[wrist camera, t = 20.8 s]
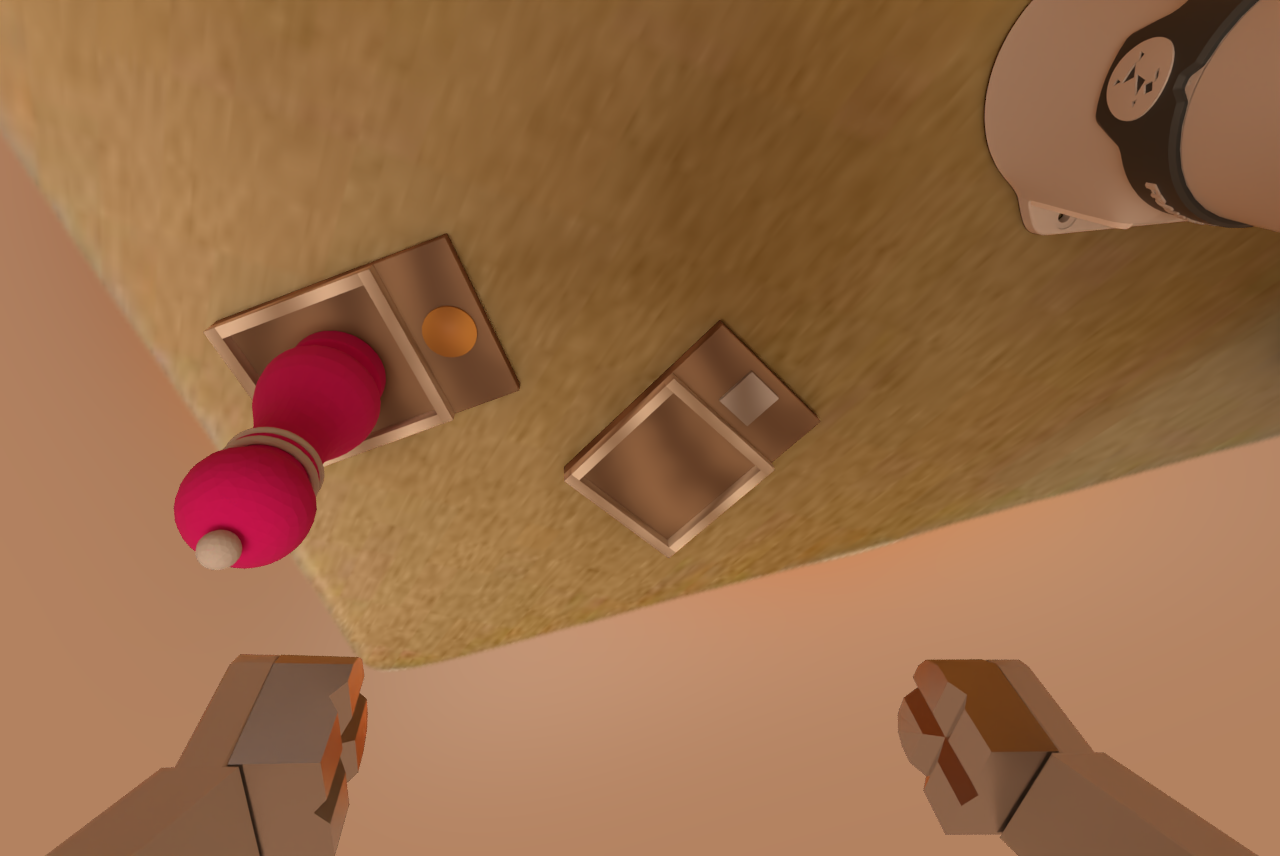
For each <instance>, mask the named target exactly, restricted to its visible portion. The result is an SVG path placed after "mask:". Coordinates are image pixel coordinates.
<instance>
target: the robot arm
mask: <svg viewBox="0 0 1280 856" xmlns="http://www.w3.org/2000/svg"><path fill="white" fill-rule="evenodd" d="M985 130H986V137H987V142H988V146H989V150H990V153H991V156H992V158H993V160H994V162H995V164H996V166H997V168H998V170H999V171H1000V172H1001V174H1002V175H1003V176H1004V178H1005V179H1006V180H1007V181H1008V183H1009V184H1010V185H1011V186H1012V188H1013V189H1014V191H1015V192H1016V194H1017V196H1018V200H1019V206H1020V212H1021V216H1022V220H1023V223H1024V225H1025V227H1026V229H1027V230H1028V231H1029V232H1031V233H1035V234H1040V235H1053V234H1063V233H1073V232H1083V231H1093V230H1103V229H1113V228H1118V229H1128V228H1130V227H1133V226H1143V225H1153V224H1163V223H1173V222H1183V221H1189V222H1193V223H1197V224H1201V225H1204V224H1207V225H1211V226H1221V227H1227V228H1246V227H1253V226H1256V227H1260V228H1264V229H1268V230H1272V231H1276V232H1280V0H1033V1H1032V2H1031V3H1030V4H1029V5H1028V6H1027V8H1026V9H1025V10H1024V12H1023V13H1022V14H1021V16H1020V17H1019V18H1018V20H1017V21H1016V23H1015V24H1014V26H1013V27H1012V29H1011V31H1010V32H1009V34H1008V36H1007V38H1006V40H1005V41H1004V43H1003V46H1002V48H1001V50H1000V52H999V54H998V57H997V59H996V62H995V64H994V67H993V70H992V74H991V77H990V81H989V85H988V90H987V95H986V103H985ZM1060 213H1061V214H1063V216H1062V217H1061V218H1060V219H1059V220H1058V216H1059V214H1060ZM913 678H914V681H915V683H916V685H917V688H916V689H915V690H913V691H912V692H911V693H909V694H908V695H907V696H906V697H904V699H903V701H902V704H901V707H900V709H899V712H898V733H899V736H900V740H901V744H902V747H903V749H904V751H905V754H906V756H907V758H908V760H909V762H910V763H911V764H912V765H914V766H915V767H916V768H917V769H919V770H920V771H921V772H922V773H923V774H924V775H926V779H925V785H924V793H925V795H926V796H927V799H928V801H929V802H930V804H931V806H932V808H933V811H934V813H935V815H936V817H937V818H938V820H939V822H940V825H941V826H942V829H943V830H944V833H945V834H946V835H949V834H950V835H951V834H952V835H962V834H963V835H965V834H967V835H968V834H969V835H970V834H1002V835H1001V836H1000V838H1001V839H1002V840H1003V841H1004V842H1005V843H1006V844H1007V845H1008V846H1009V847H1010V848H1011V849H1012V850H1013V851H1014V852H1015V853H1016V854H1017V855H1018V856H1258V855H1256V854H1255V853H1253V852H1252V851H1250V850H1249V849H1247V848H1246V847H1244V846H1243V845H1241V844H1240V843H1238V842H1237V841H1235V840H1234V839H1232V838H1231V837H1229V836H1228V835H1226V834H1225V833H1223V832H1222V831H1220V830H1219V829H1217V828H1216V827H1215V826H1213V825H1212V824H1210V823H1208V822H1207V821H1205V820H1204V819H1202V818H1201V817H1200V816H1198V815H1196V814H1195V813H1194V812H1192V811H1191V810H1189V809H1187V808H1186V807H1184V806H1183V805H1181V804H1180V803H1179V802H1177V801H1176V800H1174V799H1172V798H1171V797H1170V796H1168V795H1167V794H1165V793H1164V792H1162V791H1161V790H1159V789H1158V788H1156V787H1155V786H1153V785H1151V784H1150V783H1149V782H1147V781H1146V780H1144V779H1143V778H1141V777H1140V776H1138V775H1137V774H1135V773H1134V772H1132V771H1131V770H1129V769H1128V768H1126V767H1125V766H1123V765H1122V764H1120V763H1119V762H1117V761H1116V760H1114V759H1113V758H1111V757H1110V756H1108V755H1107V754H1105V753H1098V752H1094V751H1093V750H1092V748H1091V747H1090V746H1089V745H1088V743H1087V742H1086V741H1085V740H1084V738H1083V737H1082V735H1081V734H1080V733H1079V732H1078V730H1077V729H1076V728H1075V726H1074V725H1073V724H1072V722H1071V721H1070V720H1069V719H1068V717H1067V716H1066V715H1065V713H1064V712H1063V711H1062V709H1061V708H1060V707H1059V705H1058V704H1057V703H1056V702H1055V700H1054V699H1053V698H1052V696H1051V695H1050V694H1049V692H1048V691H1047V690H1046V688H1045V687H1044V686H1043V685H1042V683H1041V682H1040V681H1039V679H1038V678H1037V677H1036V676H1035V674H1034V673H1033V672H1032V671H1031V669H1030V668H1029V667H1028V666H1027V665H1026V664H1024V663H1023V662H1021V661H1020V660H982V659H976V660H975V659H973V660H972V659H970V660H925V661H924V662H922V663H921V664H920V665H918V668H917V669H916V672H915V674H914V676H913ZM363 679H364V669H363V662H362V659H361V658H359V657H336V656H304V655H250V654H240V655H239V656H238V657H237V658H236V659H235V660H234V661H233V662H232V663H231V664H230V665H229V667H228V669H227V671H226V672H225V674H224V676H223V678H222V680H221V682H220V684H219V686H218V687H217V689H216V691H215V693H214V695H213V697H212V699H211V701H210V703H209V704H208V706H207V708H206V710H205V712H204V714H203V716H202V718H201V719H200V722H199V723H198V725H197V727H196V729H195V731H194V732H193V734H192V736H191V738H190V740H189V742H188V744H187V746H186V747H185V749H184V751H183V753H182V755H181V757H180V759H179V761H178V762H177V764H176V766H175V767H171V768H161V769H159V770H158V771H157V772H156V773H154V774H153V775H151V776H150V777H149V778H148V779H146V780H145V781H143V782H142V783H141V784H140V785H138V786H137V787H136V788H134V789H133V790H132V791H130V792H129V793H128V794H126V795H125V796H124V797H122V798H121V799H120V800H118V801H117V802H116V803H114V804H113V805H112V806H110V807H109V808H108V809H107V810H105V811H104V812H102V813H101V814H100V815H98V816H97V817H96V818H94V819H93V820H92V821H91V822H89V823H88V824H87V825H85V826H84V827H83V828H81V829H80V830H79V831H77V832H76V833H75V834H73V835H72V836H71V837H69V838H68V839H67V840H66V841H64V842H63V843H61V844H60V845H59V846H57V847H56V848H55V849H53V850H52V851H51V852H49V853H48V854H47V855H45V856H335V853H336V850H337V846H338V843H339V839H340V836H341V832H342V829H343V825H344V822H345V818H346V814H347V811H348V807H349V798H348V790H347V782H348V781H349V780H350V779H351V778H353V777H354V776H355V775H356V774H357V773H358V771H359V767H360V763H361V759H362V755H363V751H364V745H365V739H366V732H367V717H368V716H367V715H368V712H367V699H366V698H365V697H364V696H363V695H361V694H360V689H361V686H362V683H363Z"/></svg>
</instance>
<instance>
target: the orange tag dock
mask: <svg viewBox="0 0 1280 856" xmlns="http://www.w3.org/2000/svg"><path fill="white" fill-rule="evenodd" d="M321 331H340V332H345V333H348V334H351V335H354V336H356V337H358V338H359V339H361V340H363V341H364V342H365V343H367V344H368V345H369V346H370V347H371V348H372V349H373V350H374V351H375V352H376V353H377V355H378V356H379V358H380V359H381V361H382V363H383V366H384V369H385V374H386V384H385V388H384V391H383V394H382V396H381V398H380V400H381V405H380V414H379V418H378V420H377V423H376V425H375V426H374V428H373V430H372V431H371V432H370V434H369V435H368V437H367V438H366V439H365V440H364V441H363V442H362V443H361V444H360V445H358V446H357V447H356V448H354V449H353V450H351V451H350V452H348V453H346V454H344V455H342V456H340V457H338V458H335V459H332V460H329V461H326V462H324V464H323V467H324V466H327V465H329V464H332V463H335V462H338V461H341V460H343V459H346V458H349V457H352V456H354V455H357V454H360V453H363V452H366V451H368V450H371V449H374V448H377V447H379V446H382V445H385V444H388V443H391V442H393V441H396V440H399V439H402V438H405V437H407V436H410V435H413V434H416V433H418V432H421V431H424V430H427V429H430V428H432V427H435V426H438V425H441V424H444V423H446V422H449V421H452V420H453V419H454V415H455V413H458V412H460V411H463V410H466V409H469V408H472V407H474V406H477V405H480V404H483V403H485V402H488V401H491V400H494V399H497V398H499V397H502V396H505V395H508V394H510V393H513V392H516V391H519V387H520V384H519V382H518V380H517V377H516V375H515V373H514V371H513V369H512V367H511V365H510V363H509V361H508V359H507V357H506V355H505V353H504V351H503V349H502V347H501V344H500V342H499V340H498V338H497V336H496V334H495V332H494V330H493V328H492V326H491V324H490V322H489V320H488V318H487V316H486V314H485V311H484V309H483V307H482V305H481V303H480V301H479V299H478V297H477V295H476V293H475V291H474V289H473V287H472V285H471V283H470V280H469V278H468V276H467V274H466V272H465V270H464V268H463V266H462V264H461V262H460V260H459V258H458V256H457V254H456V252H455V250H454V247H453V245H452V243H451V241H450V239H449V237H448V235H447V234H444V235H442V236H439V237H436V238H434V239H431V240H429V241H426V242H423V243H421V244H418V245H415V246H413V247H410V248H408V249H405V250H402V251H400V252H397V253H394V254H392V255H389V256H387V257H384V258H381V259H379V260H376V261H373V262H371V263H368V264H366V265H363V266H360V267H358V268H355V269H352V270H350V271H347V272H345V273H342V274H339V275H337V276H334V277H331V278H329V279H326V280H323V281H321V282H318V283H316V284H313V285H310V286H308V287H305V288H302V289H300V290H297V291H295V292H292V293H289V294H287V295H284V296H281V297H279V298H276V299H274V300H271V301H268V302H266V303H263V304H260V305H258V306H255V307H253V308H250V309H247V310H245V311H242V312H239V313H237V314H234V315H232V316H229V317H226V318H224V319H221V320H218V321H216V322H215V323H214V324H213V325H211V326H210V327H209V328H208V329H206V330H205V331H204V332H203V333H204V334H205V335H206V337H207V338H208V340H209V341H210V342H211V344H212V345H213V346H214V348H215V349H216V351H217V352H218V353H219V355H220V356H221V358H222V359H223V360H224V362H225V363H226V364H227V366H228V367H229V369H230V370H231V371H232V373H233V374H234V376H235V377H236V378H237V380H238V381H239V382H240V384H241V385H242V387H243V388H244V389H245V391H246V392H247V394H248V395H249V396H250V398H251V399H252V400H253V396H254V391H255V387H256V384H257V381H258V379H259V378H260V376H261V374H262V373H263V371H264V369H265V368H266V366H267V365H268V364H269V363H270V362H271V361H272V360H273V359H274V358H275V357H277V356H278V355H280V354H281V353H283V352H285V351H287V350H289V349H292V348H295V347H296V345H297V344H298V343H299V342H300V341H302V340H303V339H304V338H306V337H307V336H309V335H311V334H314V333H316V332H321Z"/></svg>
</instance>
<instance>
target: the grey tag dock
mask: <svg viewBox="0 0 1280 856" xmlns="http://www.w3.org/2000/svg"><path fill="white" fill-rule="evenodd" d="M819 422H820V420H819V419H818V417H817V416H816V415H815V414H814V413H813V412H812V411H811V410H810V409H809V408H808V407H807V406H806V405H805V404H804V403H803V402H802V401H801V400H800V399H799V398H798V397H797V396H796V395H795V394H794V393H793V392H792V391H791V390H790V389H789V388H788V387H787V386H786V385H785V384H784V383H783V382H782V381H781V380H780V379H779V378H778V377H777V376H776V375H775V374H774V373H773V372H772V371H771V370H770V369H769V368H768V367H767V366H766V365H765V364H764V363H763V362H762V361H761V360H760V359H759V358H758V357H757V356H756V355H755V354H754V353H753V352H752V351H751V350H750V349H749V348H748V347H747V346H746V345H745V344H744V343H743V342H742V341H741V340H740V339H738V338H737V337H736V336H735V335H734V334H733V333H732V332H731V331H730V330H729V329H728V328H727V327H726V326H725V325H724V324H723V323H722V322H721V321H720V320H719V321H718V322H717V323H716V324H715V325H714V326H713V327H712V328H711V329H710V330H709V331H708V332H707V333H706V334H705V335H704V336H703V337H701V338H700V339H699V340H698V341H697V342H696V343H695V344H694V345H693V346H692V347H691V348H690V349H689V350H688V351H687V352H686V353H684V354H683V355H682V356H681V357H680V358H679V359H678V360H677V361H676V362H675V363H674V364H673V365H672V366H671V367H670V368H669V369H668V370H666V371H665V372H664V373H663V374H662V375H661V376H660V377H659V378H658V379H657V380H656V381H655V382H654V383H653V384H652V385H651V386H650V387H648V388H647V389H646V390H645V391H644V392H643V393H642V394H641V395H640V396H639V397H638V398H637V399H636V400H635V401H634V402H633V403H632V404H630V405H629V406H628V407H627V408H626V409H625V410H624V411H623V412H622V413H621V414H620V415H619V416H618V417H617V418H616V419H615V420H613V421H612V422H611V423H610V424H609V425H608V426H607V427H606V428H605V429H604V430H603V431H602V432H601V433H600V434H599V435H598V436H597V437H595V438H594V439H593V440H592V441H591V442H590V443H589V444H588V445H587V446H586V447H585V448H584V449H583V450H582V451H581V452H580V453H579V454H577V455H576V456H575V457H574V458H573V459H572V460H571V461H570V462H569V463H568V464H567V465H566V466H565V467H564V481H565V482H566V483H567V484H569V485H570V486H572V487H573V488H574V489H576V490H577V491H578V492H580V493H581V494H582V495H584V496H585V497H586V498H588V499H589V500H590V501H592V502H593V503H595V504H596V505H597V506H599V507H600V508H601V509H603V510H604V511H605V512H607V513H608V514H609V515H611V516H612V517H614V518H615V519H616V520H618V521H619V522H620V523H622V524H623V525H624V526H626V527H627V528H628V529H630V530H631V531H632V532H634V533H635V534H637V535H638V536H639V537H641V538H642V539H643V540H645V541H646V542H647V543H649V544H650V545H651V546H653V547H654V548H655V549H657V550H658V551H660V552H661V553H662V554H664V555H665V556H666V557H668V558H670V557H671V556H672V555H673V554H674V553H676V552H677V551H678V550H679V549H680V548H682V547H683V546H684V545H685V544H686V543H688V542H689V541H690V540H691V539H692V538H694V537H695V536H696V535H697V534H698V533H700V532H701V531H702V530H703V529H704V528H706V527H707V526H708V525H709V524H710V523H712V522H713V521H714V520H715V519H716V518H718V517H719V516H720V515H721V514H722V513H724V512H725V511H726V510H727V509H728V508H729V507H731V506H732V505H733V504H734V503H735V502H737V501H738V500H739V499H740V498H741V497H743V496H744V495H745V494H746V493H747V492H749V491H750V490H751V489H752V488H753V487H755V486H756V485H757V484H758V483H759V482H761V481H762V480H763V479H764V478H765V477H767V476H768V475H769V474H770V473H771V472H773V471H774V470H775V469H774V467H773V465H772V462H773V461H774V460H775V459H777V458H778V457H779V456H780V455H781V454H783V453H784V452H785V451H786V450H787V449H788V448H790V447H791V446H792V445H793V444H794V443H796V442H797V441H798V440H799V439H800V438H802V437H803V436H804V435H805V434H806V433H807V432H809V431H810V430H811V429H812V428H813V427H815V426H816V425H817V424H818V423H819Z"/></svg>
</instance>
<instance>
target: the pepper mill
mask: <svg viewBox="0 0 1280 856" xmlns="http://www.w3.org/2000/svg"><path fill="white" fill-rule="evenodd" d="M385 384H386V374H385V369H384V366H383V363H382V361H381V359H380V358H379V356H378V355H377V353H376V352H375V351H374V350H373V349H372V348H371V347H370V346H369V345H368V344H367V343H365V342H364V341H363V340H361V339H359V338H358V337H356V336H354V335H351V334H348V333H345V332H340V331H321V332H316V333H314V334H311V335H309V336H307V337H306V338H304V339H303V340H302V341H300V342H299V343H298V344H297V345H296V347H295V348H292V349H289V350H287V351H285V352H283V353H281V354H280V355H278V356H277V357H275V358H274V359H273V360H272V361H271V362H270V363H269V364H268V365H267V366H266V368H265V369H264V371H263V373H262V374H261V376H260V378H259V379H258V381H257V384H256V387H255V391H254V396H253V403H252V409H253V419H254V427H253V428H251V429H248V430H245V431H243V432H240V433H239V434H237V435H236V436H235V437H233V438H232V439H231V440H230V441H229V442H228V444H227V446H226V447H225V448H224V449H223V450H221V451H218V452H215V453H212V454H211V455H210V456H208V457H206V458H205V459H203V460H202V461H200V462H199V463H197V464H196V465H195V466H194V467H193V468H192V469H191V470H190V471H189V473H188V474H187V475H186V477H185V478H184V480H183V481H182V483H181V484H180V487H179V490H178V493H177V495H176V498H175V504H174V515H175V522H176V525H177V528H178V530H179V532H180V534H181V536H182V538H183V539H184V541H185V542H186V543H187V544H188V545H189V546H190V548H192V549H193V550H194V551H196V552H195V553H196V558H197V559H198V561H199V563H200V564H201V565H202V566H204V567H205V568H207V569H211V570H223V569H226V568H228V567H233V568H244V569H245V568H254V567H260V566H264V565H268V564H271V563H273V562H275V561H278V560H280V559H281V558H283V557H285V556H286V555H288V554H289V553H291V552H292V551H293V550H294V549H295V548H297V547H298V546H299V545H300V544H301V542H302V541H303V540H304V538H305V537H306V536H307V534H308V532H309V531H310V528H311V526H312V524H313V522H314V518H315V514H316V510H317V508H316V496H317V493H318V492H319V490H320V489H321V487H322V484H323V481H324V467H323V464H324V462H326V461H329V460H332V459H335V458H338V457H340V456H342V455H344V454H346V453H348V452H350V451H351V450H353V449H354V448H356V447H357V446H358V445H360V444H361V443H362V442H363V441H364V440H365V439H366V438H367V437H368V435H369V434H370V432H371V431H372V430H373V428H374V426H375V425H376V423H377V420H378V418H379V414H380V405H381V400H380V398H381V396H382V394H383V391H384V388H385Z"/></svg>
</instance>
